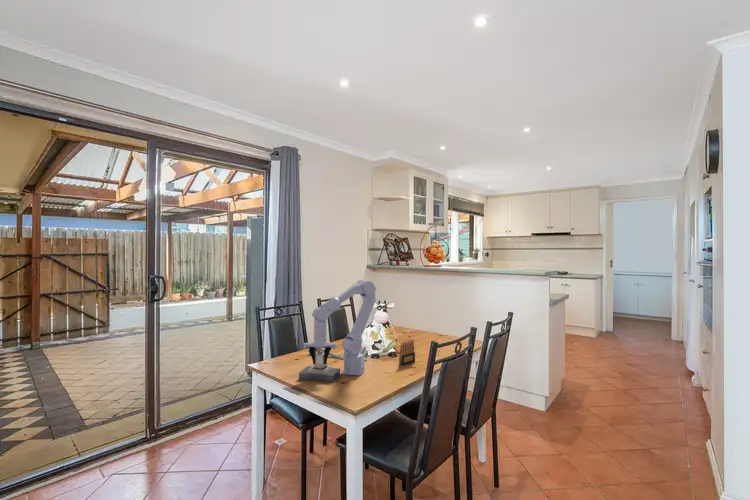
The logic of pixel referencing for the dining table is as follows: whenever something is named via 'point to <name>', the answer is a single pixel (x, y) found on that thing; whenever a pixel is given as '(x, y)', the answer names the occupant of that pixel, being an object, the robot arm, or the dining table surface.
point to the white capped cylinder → (319, 360)
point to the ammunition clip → (407, 353)
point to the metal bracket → (363, 351)
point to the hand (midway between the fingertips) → (319, 363)
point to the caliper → (329, 353)
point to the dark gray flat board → (319, 374)
